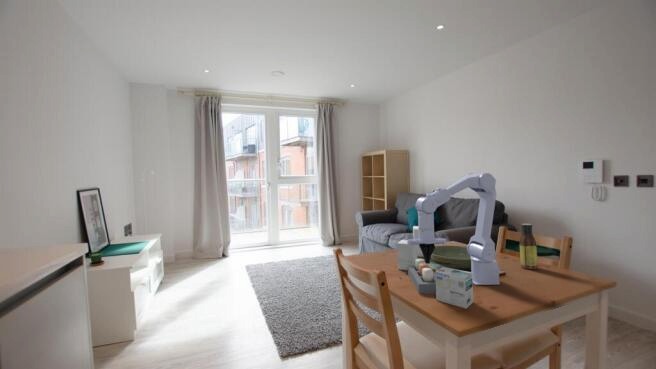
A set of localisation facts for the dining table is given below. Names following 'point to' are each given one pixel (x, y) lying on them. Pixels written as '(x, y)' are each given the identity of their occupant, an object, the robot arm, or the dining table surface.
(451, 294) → the light bulb box
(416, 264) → the plug sage
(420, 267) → the plug rust
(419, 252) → the supplement box
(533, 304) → the dining table surface
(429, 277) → the plug cream
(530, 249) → the sauce bottle
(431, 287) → the socket board
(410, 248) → the supplement box
